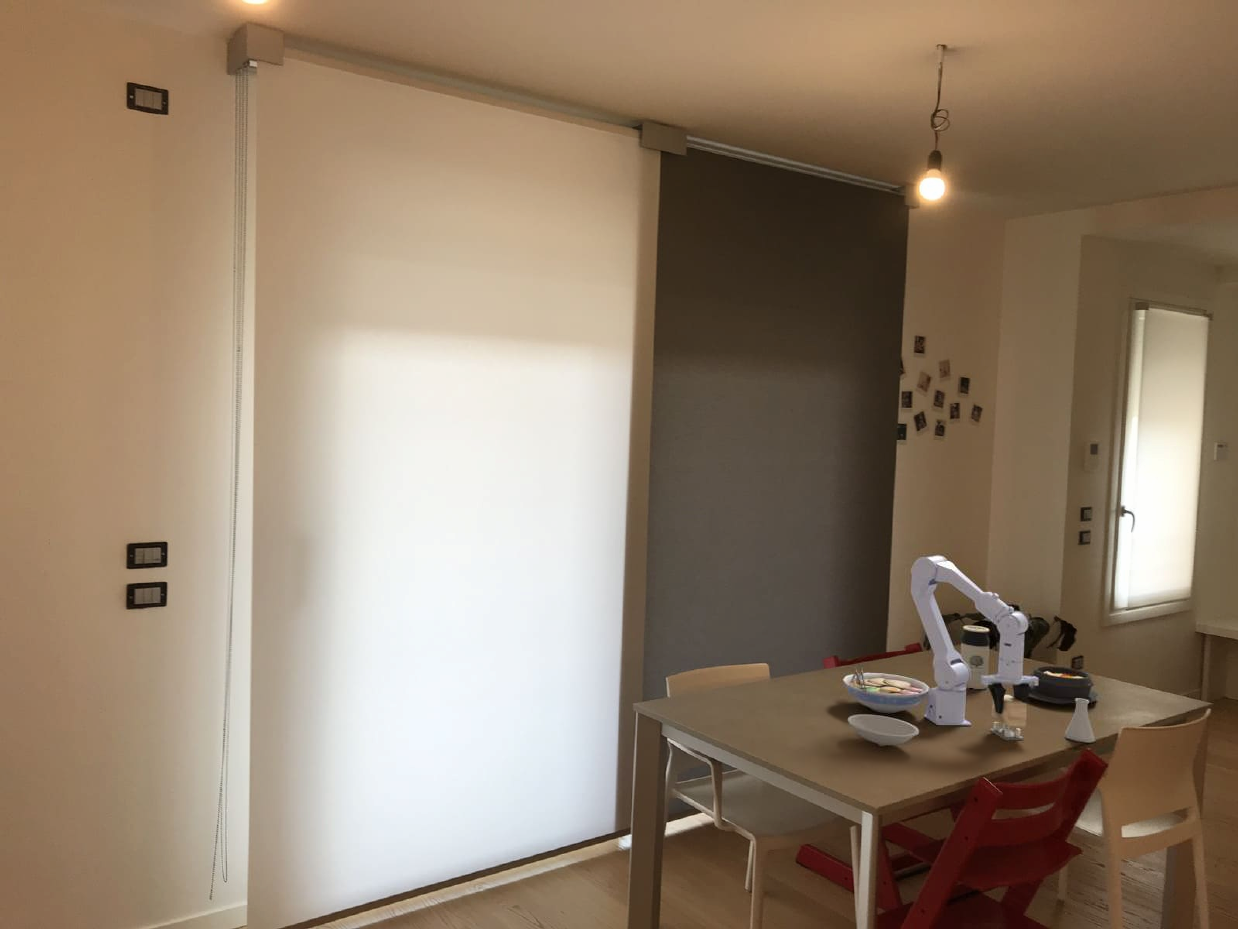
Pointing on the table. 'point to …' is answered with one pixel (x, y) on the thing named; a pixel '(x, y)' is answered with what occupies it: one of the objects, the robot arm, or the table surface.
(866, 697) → the ramen bowl
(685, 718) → the table surface
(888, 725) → the dish
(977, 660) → the travel mug
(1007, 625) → the robot arm
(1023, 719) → the wooden block
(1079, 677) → the casserole
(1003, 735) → the peg stand
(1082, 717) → the flask
